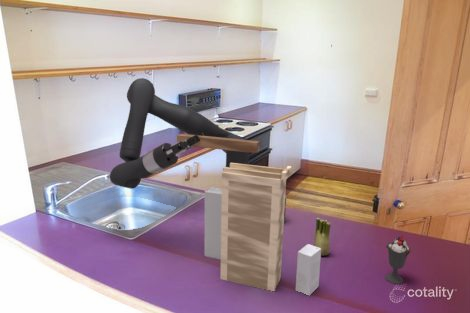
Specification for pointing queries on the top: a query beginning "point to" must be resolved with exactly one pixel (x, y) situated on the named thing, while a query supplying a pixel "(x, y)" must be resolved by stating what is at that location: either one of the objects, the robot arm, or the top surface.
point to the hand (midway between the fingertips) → (201, 136)
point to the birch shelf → (252, 224)
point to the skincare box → (308, 269)
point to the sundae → (397, 258)
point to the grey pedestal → (213, 222)
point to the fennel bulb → (322, 236)
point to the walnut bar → (223, 143)
